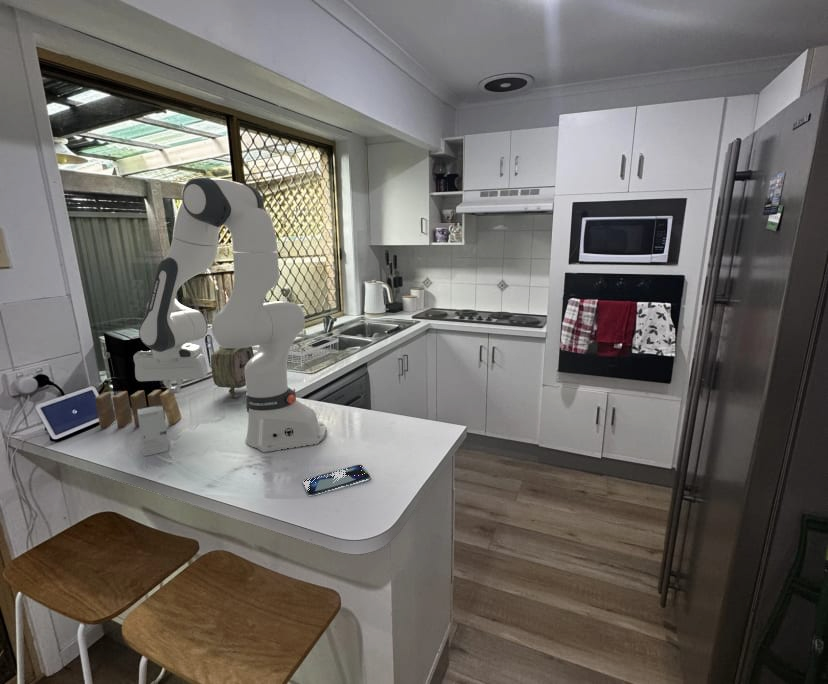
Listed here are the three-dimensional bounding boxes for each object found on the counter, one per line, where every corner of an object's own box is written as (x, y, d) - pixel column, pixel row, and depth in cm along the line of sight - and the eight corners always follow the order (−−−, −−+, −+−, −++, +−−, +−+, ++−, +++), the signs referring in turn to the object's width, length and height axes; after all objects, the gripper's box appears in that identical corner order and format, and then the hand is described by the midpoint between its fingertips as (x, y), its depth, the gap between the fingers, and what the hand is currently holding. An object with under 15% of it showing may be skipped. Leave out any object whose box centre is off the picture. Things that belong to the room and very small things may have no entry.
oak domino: (181, 417, 139) (172, 388, 136) (175, 423, 134) (165, 394, 132) (175, 418, 139) (166, 389, 136) (169, 424, 134) (159, 395, 132)
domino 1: (115, 421, 137) (110, 392, 134) (106, 428, 132) (100, 397, 130) (109, 421, 137) (104, 392, 134) (100, 428, 132) (94, 398, 129)
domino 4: (165, 418, 139) (160, 389, 136) (158, 425, 134) (153, 395, 131) (159, 419, 138) (154, 389, 136) (152, 425, 134) (147, 395, 131)
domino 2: (132, 420, 137) (127, 391, 135) (124, 427, 133) (118, 396, 130) (126, 421, 137) (121, 391, 135) (118, 427, 132) (112, 397, 130)
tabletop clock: (236, 400, 153) (228, 332, 147) (213, 399, 155) (204, 331, 149) (257, 387, 167) (250, 324, 161) (236, 386, 169) (228, 323, 163)
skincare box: (143, 457, 114) (136, 414, 111) (143, 450, 118) (135, 409, 115) (170, 450, 117) (163, 409, 115) (168, 444, 121) (162, 404, 118)
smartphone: (301, 480, 102) (361, 463, 108) (301, 483, 102) (361, 467, 108) (308, 496, 95) (371, 477, 102) (308, 499, 96) (371, 481, 102)
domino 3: (149, 419, 138) (144, 390, 136) (141, 426, 133) (136, 396, 131) (143, 420, 138) (138, 390, 135) (135, 426, 133) (129, 396, 131)
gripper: (127, 354, 127) (134, 397, 130) (199, 351, 129) (205, 394, 133) (137, 348, 133) (144, 390, 136) (206, 346, 135) (211, 387, 139)
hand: (175, 392), depth 135 cm, fingers closed
